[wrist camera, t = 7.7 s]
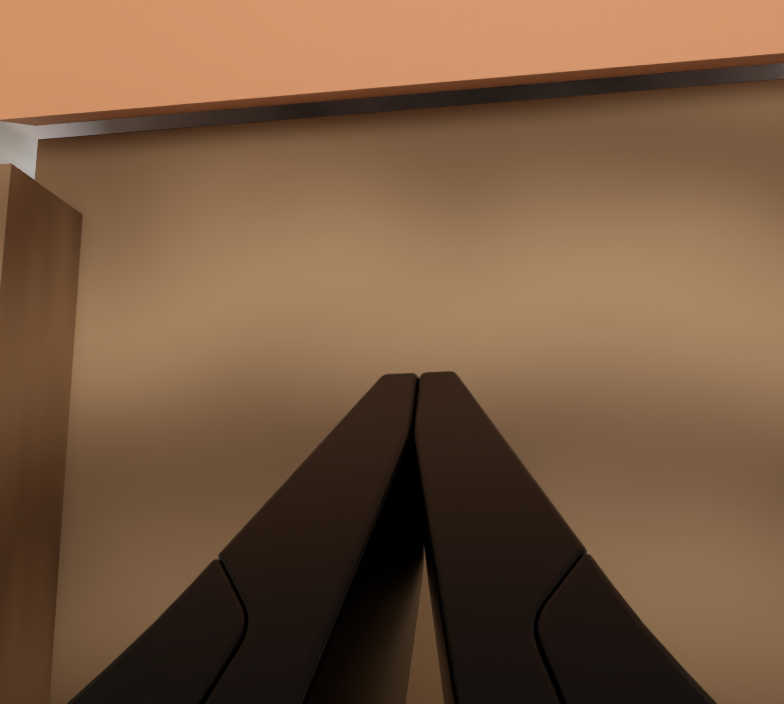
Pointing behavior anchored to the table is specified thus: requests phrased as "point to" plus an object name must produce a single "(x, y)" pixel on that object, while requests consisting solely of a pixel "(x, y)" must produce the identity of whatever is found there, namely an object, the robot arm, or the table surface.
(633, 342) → the brown shallow open box
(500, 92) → the table surface
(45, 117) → the tailgate
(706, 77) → the table surface
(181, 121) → the table surface
